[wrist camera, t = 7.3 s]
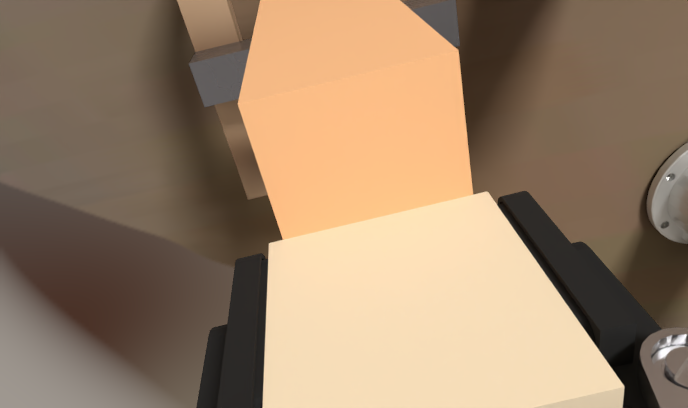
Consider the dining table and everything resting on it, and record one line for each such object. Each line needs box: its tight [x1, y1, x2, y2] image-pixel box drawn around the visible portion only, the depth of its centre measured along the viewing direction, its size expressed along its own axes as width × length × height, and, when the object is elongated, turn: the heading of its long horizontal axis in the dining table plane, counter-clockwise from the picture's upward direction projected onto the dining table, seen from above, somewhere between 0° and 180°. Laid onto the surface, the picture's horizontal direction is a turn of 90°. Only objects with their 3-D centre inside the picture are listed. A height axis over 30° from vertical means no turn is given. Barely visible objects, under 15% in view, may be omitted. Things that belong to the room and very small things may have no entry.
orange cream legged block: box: [238, 0, 625, 408], centre depth 15 cm, size 9×5×17 cm, turn 12°
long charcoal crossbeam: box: [189, 0, 460, 107], centre depth 28 cm, size 2×14×2 cm, turn 102°
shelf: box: [177, 0, 407, 200], centre depth 35 cm, size 17×14×12 cm
